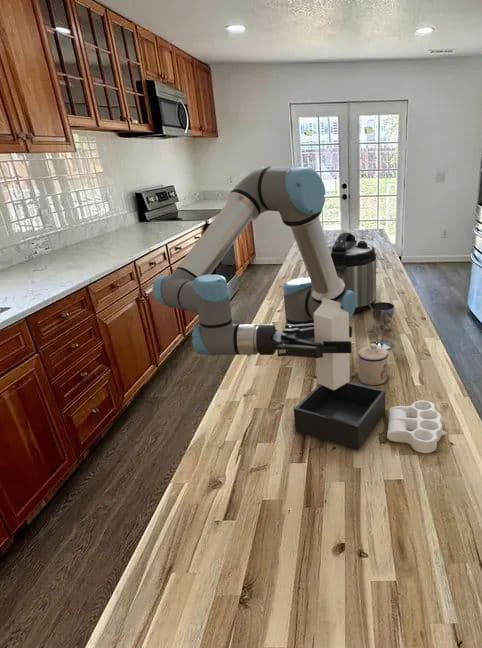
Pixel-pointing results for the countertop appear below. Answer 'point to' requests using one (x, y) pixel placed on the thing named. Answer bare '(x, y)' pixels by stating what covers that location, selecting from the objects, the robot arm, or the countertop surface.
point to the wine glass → (382, 320)
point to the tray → (340, 414)
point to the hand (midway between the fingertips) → (351, 339)
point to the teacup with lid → (373, 365)
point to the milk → (332, 327)
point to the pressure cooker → (356, 268)
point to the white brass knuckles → (416, 426)
